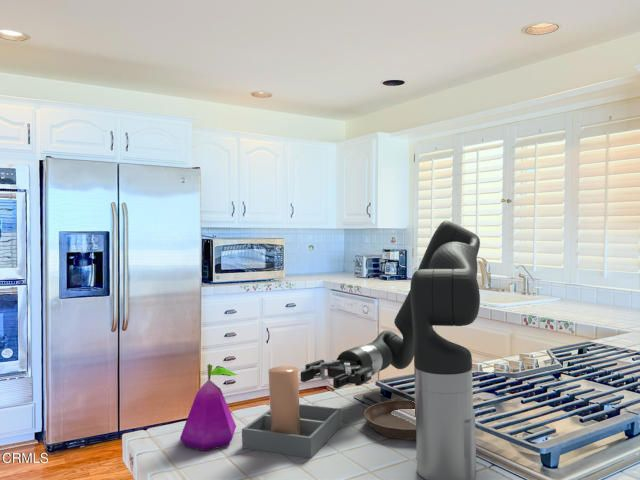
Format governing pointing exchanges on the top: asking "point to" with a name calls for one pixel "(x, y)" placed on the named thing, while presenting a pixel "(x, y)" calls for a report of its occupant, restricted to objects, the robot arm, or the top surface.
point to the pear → (209, 416)
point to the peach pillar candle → (284, 400)
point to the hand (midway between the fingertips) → (317, 380)
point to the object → (391, 419)
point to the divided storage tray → (314, 434)
